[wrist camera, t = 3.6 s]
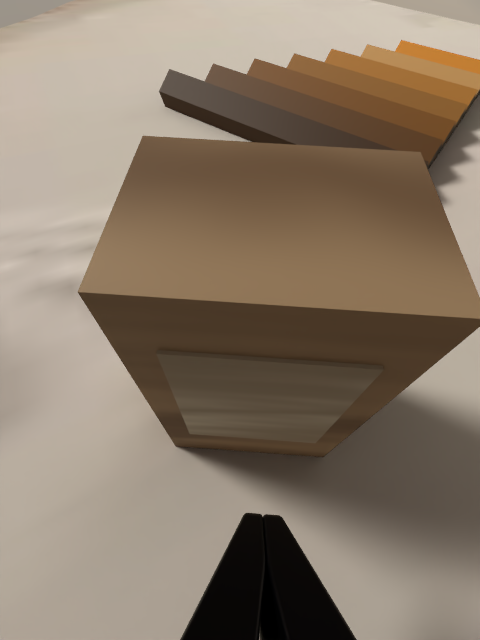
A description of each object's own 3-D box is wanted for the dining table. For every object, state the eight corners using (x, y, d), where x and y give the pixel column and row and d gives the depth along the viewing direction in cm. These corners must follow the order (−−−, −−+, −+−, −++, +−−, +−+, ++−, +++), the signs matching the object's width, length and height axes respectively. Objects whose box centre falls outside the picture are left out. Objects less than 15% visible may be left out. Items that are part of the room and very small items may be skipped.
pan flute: (162, 114, 34) (399, 212, 26) (156, 75, 31) (420, 173, 23) (288, 40, 45) (479, 94, 37) (292, 7, 42) (499, 58, 35)
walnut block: (323, 459, 16) (490, 324, 6) (175, 448, 16) (75, 296, 6) (316, 361, 18) (420, 152, 8) (191, 352, 19) (142, 135, 8)
